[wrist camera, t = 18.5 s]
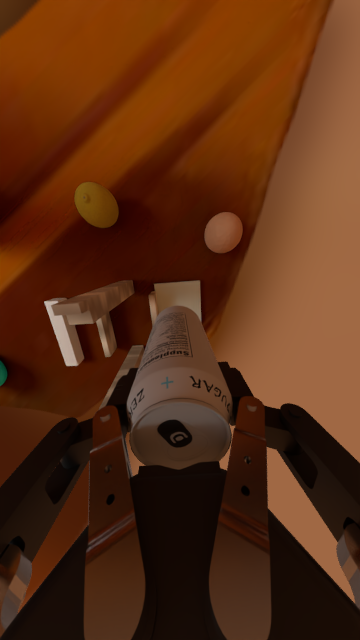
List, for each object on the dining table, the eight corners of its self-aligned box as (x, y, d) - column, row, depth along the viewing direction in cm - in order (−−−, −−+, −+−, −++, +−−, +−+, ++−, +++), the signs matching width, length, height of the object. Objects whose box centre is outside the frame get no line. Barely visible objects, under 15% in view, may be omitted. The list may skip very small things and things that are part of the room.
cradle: (97, 282, 33) (1, 309, 15) (155, 278, 33) (128, 299, 15) (114, 356, 39) (60, 439, 21) (164, 353, 38) (152, 433, 21)
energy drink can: (171, 353, 23) (163, 494, 9) (145, 319, 22) (87, 429, 7) (208, 332, 22) (264, 453, 8) (185, 294, 21) (205, 367, 6)
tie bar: (55, 298, 34) (44, 301, 31) (67, 297, 34) (57, 300, 31) (74, 358, 39) (66, 366, 36) (85, 357, 39) (77, 365, 36)
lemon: (91, 192, 28) (59, 167, 20) (124, 197, 28) (105, 174, 21) (93, 229, 30) (64, 218, 22) (124, 233, 30) (106, 224, 22)
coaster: (154, 283, 33) (153, 284, 32) (199, 280, 33) (200, 280, 32) (159, 325, 36) (159, 326, 35) (200, 322, 36) (201, 323, 35)
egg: (197, 248, 31) (203, 243, 23) (208, 214, 29) (219, 197, 21) (225, 258, 32) (241, 257, 24) (237, 226, 30) (259, 213, 22)
